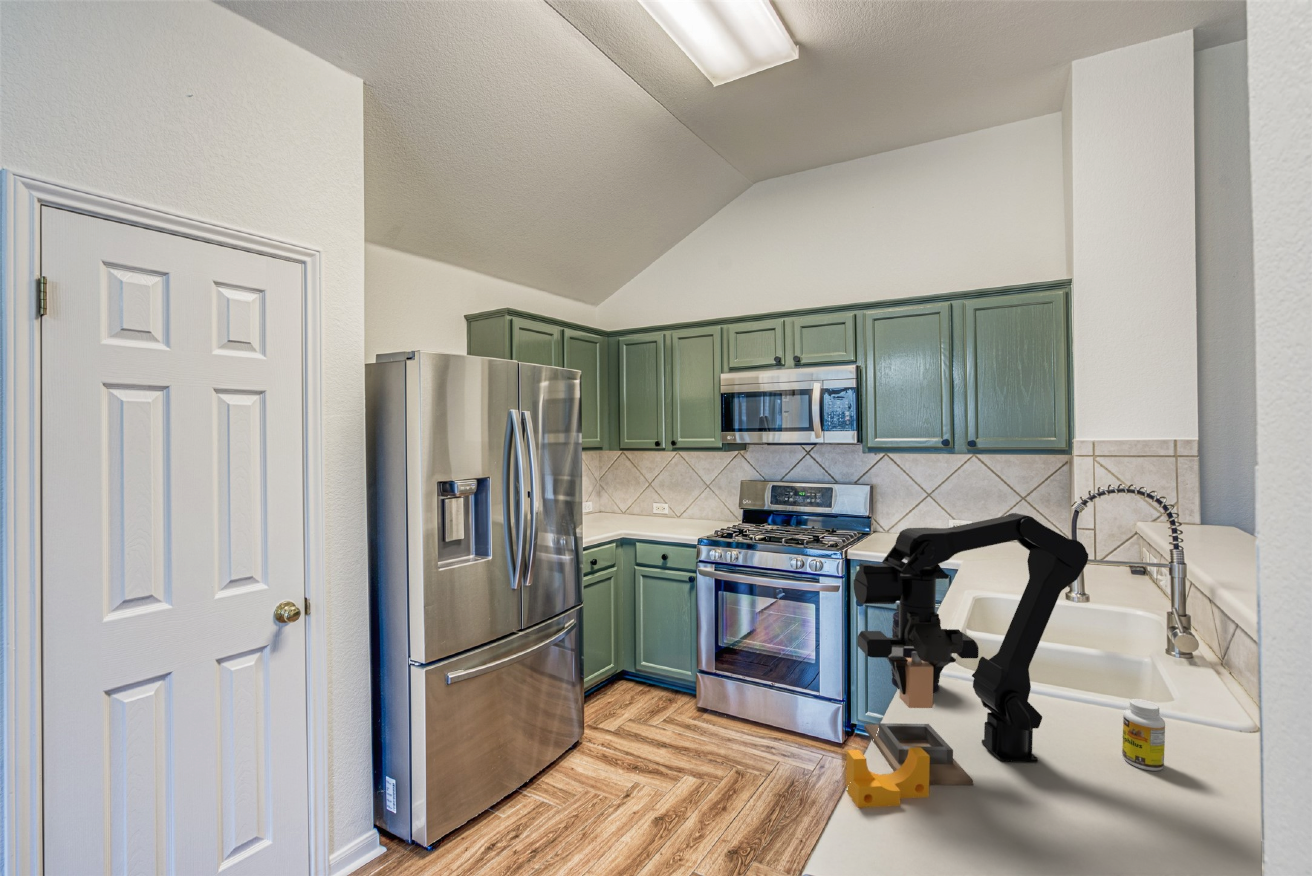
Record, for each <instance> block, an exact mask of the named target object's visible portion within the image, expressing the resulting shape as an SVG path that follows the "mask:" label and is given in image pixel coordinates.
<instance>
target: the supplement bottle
mask: <svg viewBox="0 0 1312 876" xmlns="http://www.w3.org/2000/svg"><path fill="white" fill-rule="evenodd" d="M1128 705H1129V706H1128V707H1129V708H1127V709H1125V710H1124V711H1123V715H1122V716H1123V717H1122V718H1123V719H1122V721H1123V722H1122V724H1123V725H1122V746H1121V747H1122V748H1121V749H1122V751H1121V753H1122V755H1121V756H1122V758H1123V759H1124V760H1125V761H1126V762H1127V763H1128V764H1130V765H1132V766H1134V767H1136V768H1137V769H1138V768H1139V769H1140V770H1141V769H1142V770H1145V771H1154V772H1157V771H1161V770H1163V769H1164V766H1165V747H1166V746H1165V745H1166V743H1165V742H1166V741H1165V740H1166V721H1165V720H1164V718H1163V717H1161V716H1160V713H1161V712H1160V706H1159V705H1158V704H1157V703H1155V702H1152V701H1149V700H1145V699H1140V698H1132V699H1130V700H1129V704H1128Z"/></svg>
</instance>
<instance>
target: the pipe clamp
mask: <svg viewBox="0 0 1312 876" xmlns="http://www.w3.org/2000/svg"><path fill="white" fill-rule="evenodd" d="M929 763H930V756H929V755H928V754H927V753H926V752H925V751H924V750H923V749H922V748H921V747H914V748H909V751H908V756H907V758H906V760H905V762H904V764H903V765H902V766H901V767H900V768H899V769H898V770H896V771H894V770H893V772H890V773H886V774H878V773H875V772H872V771H871V770H870V769H869V768H868V762H867V757H866V756H865V755H864V754H863V753H862V751H860V749H849V750H846V777H845V780H846V781H845V783H846V784H845V786H846V787H845V791H846V793H847V794H848V796H849V797H850V798H851V800H852V802H853V803H854V804H855V806H856V807H857V808H858V809H861V808H878V807H879V808H881V807H900V806H901V799H914V798H916V799H917V798H929V797H930V785H929ZM850 782H851V783H850ZM848 785H849V786H848ZM847 786H848V790H846V788H847Z"/></svg>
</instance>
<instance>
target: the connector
mask: <svg viewBox="0 0 1312 876" xmlns="http://www.w3.org/2000/svg"><path fill="white" fill-rule="evenodd" d="M906 659H907V660H908V661H907V664H906V666H905V671H906V694H905V695H903V694H902V693H901V691H900V690H899V696H898V697H899V699H900V700H901V701H902V702H903V703H904V704H905V706H907V708H909V709H933V705H934V701H933V700H934V697H933V696H934V694H933V666H932V665H931V664H929V663H928V662H924V661H922V660H921V659H920V658H919V657H918V654H917V652H916V651H913V652H912V656H911V658H906Z"/></svg>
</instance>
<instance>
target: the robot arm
mask: <svg viewBox="0 0 1312 876" xmlns="http://www.w3.org/2000/svg"><path fill="white" fill-rule="evenodd" d="M1015 541H1017V543H1018V544H1019V545H1020V546H1022V547H1024V548H1025V549H1026V550H1027V551H1029V552H1028V557H1027V568H1028V576H1029V577H1028V581H1027V583H1026V586H1025V589H1024V590H1023V593H1022V596H1021V597H1020V601H1019V603H1018V605H1017V608H1016V610H1015V612H1014V614H1013V617H1012V618H1011V619H1012V620H1011V622H1010V624H1009V626H1008V629H1007V631H1006V633H1005V636H1004V638H1003V640H1002V643H1001V645H1000V646H999V649H998V651H997V652H996V653H995V654H994V655H993V656H991V657H990V658H988V659H987V658H986V657H985V656H981V657H979V645H978V643H977V641H975V639H973V638H972V637H970V636H969V635H967V634H965V633H964V632H963V631H961V630H960V629H959V628H958V629H953V628H951V629H948V628H942V626H941V624H940V620H941V619H940V614H939V613H937V612H936V603H937V600H936V599H937V597H936V596H937V594H936V593H937V590H936V589H937V580H948V579H949V578H950V575H949V574H948V573H947V572H945V570H943V568H942V567H941V565H940V564H942V563H944V562H947V561H949V560H950V559H951V558H953V557H954V556H955V555H958V554H960V553H962V552H965V551H966V552H967V551H971V550H975V549H977V550H978V549H981V548H985V547H991V546H994V545H999V544H1005V543H1009V542H1015ZM903 560H905V561H906V562H905V561H903ZM1088 562H1089V553H1088V552H1087V549H1086V547H1085V546H1084V544H1083V543H1082V542H1081V541H1079V540H1076V539H1072V538H1068V537H1066V536H1064V535H1062V534H1061V533H1058V532H1057V531H1055V530H1053V529H1052V528H1050V527H1047V526H1046V525H1044V524H1043V523H1041V522H1039V521H1038V520H1037V519H1035V518H1034V517H1033V516H1030V515H1027V514H1022V513H1018V512H1011V513H1009V514H1006V515H1003V516H1000V517H994V518H989V519H986V520H985V519H984V520H978V521H976V522H970V523H965V524H962V525H961V524H960V525H957V526H951V527H945V528H944V527H943V528H942V527H908V528H904V529H902V530H901V531H899V534H898V536H897V537H896V540H895V543H894V545H893V547H892V548H891V549H890V550H889V552H888V554H887V553H886V556H885V557H884V559H882V562H881V563H867V562H860V563H859V565H858V570H857V571H856V572H855V576H854V579H853V592H854V596H855V598H856V601H857V602H858V604H859V605H894V604H896V603H897V602H898V603H899V604H896V612H899V628H896V633H897V634H898V635H899V638H892V637H888V636H886V634H884V633H883V632H882V630H861V631H860V632H859V634H858V635H857V642H856V643H857V644H856V645H857V647H858V648H859V649H860V650H861V651H862V652H863V653H864V654H865V655H866V656H867V657H869V658H875V659H877V658H885V659H887V661H888V662H889V665H890V666H891V667H892V669H893V672H894V675H895V677H896V680H897V683H898V686H899V688H900V689H899V692H900V691H901V693H902V694H903V695H905V694H906V671H905V666H906V664H907V661H908V660H907V659H906V658H905V657H904V656H903V649H904V650H916V652H917V654H918V657H919V658H920V659H921V660H922V661H924V662H928V663H929V664H931V665H932V666H933V688H934V686H935V684H936V682H937V679H938V677H939V675H940V676H941V673H942V671H943V669H944V668H945V667H946V666H948V665H949V664H951V663H953V664H955V662H956V660H957V658H955V657H954V656H953V654H956V655H957V656H959V658H960V659H978V658H979V659H978V663H977V668H976V669H975V671H974V672H973V673H972V674H971V677H972V678H973V682H972V688H973V690H974V693H975V695H976V696H977V697H978V698H979V699H980V702H981V704H982V707H983V708H985V709H987V710H989V711H990V712H989V711H988V712H987V713H986V714H987V715H986V718H987V719H986V721H985V722H984V726H983V727H984V731H983V733H984V734H983V735H984V737H983V738H984V739H981V744H982V745H983V746H985V748H986V749H987V750H989V752H991V754H993V755H994V756H995V757H996V758H997V759H998V760H999V761H1002V762H1021V763H1023V762H1025V763H1026V762H1029V763H1030V762H1031V763H1036V762H1039V757H1038V756H1036V755H1035V754H1034V753H1033V740H1034V739H1033V738H1034V737H1033V735H1034V734H1033V731H1034V729H1039V728H1040V725H1041V723H1042V720H1043V716H1042V714H1040V712H1039V711H1038V710H1037V709H1036V708H1035V707H1034V706H1033V705H1032V704H1031V703H1030V702H1029V698H1030V697H1029V696H1030V693H1031V689H1032V685H1031V677H1030V665H1031V663H1032V661H1033V658H1034V656H1035V653H1036V651H1037V649H1038V646H1039V644H1040V642H1041V639H1042V637H1043V635H1044V632H1045V630H1046V628H1047V625H1048V623H1049V620H1050V619H1051V616H1052V613H1053V611H1054V609H1055V607H1056V604H1057V602H1058V600H1059V597H1060V594H1061V593H1062V591H1063V590H1064V589H1066V588H1067V587H1069V586H1070V585H1071V584H1073V583H1074V582H1076V581H1077V580H1078V578H1079V577H1080V575H1081V574H1082V572H1083V571H1084V569H1085V567H1086V565H1087V564H1088Z"/></svg>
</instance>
